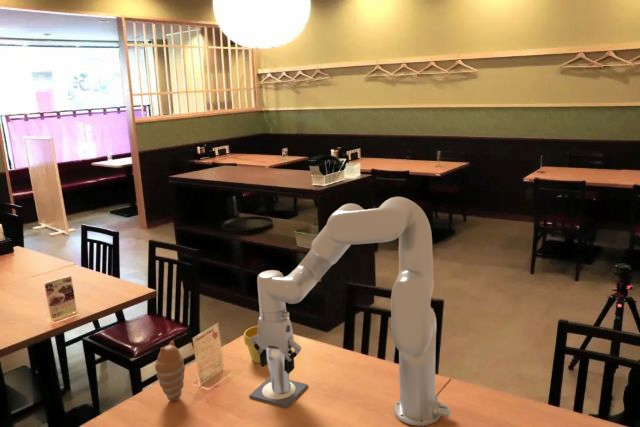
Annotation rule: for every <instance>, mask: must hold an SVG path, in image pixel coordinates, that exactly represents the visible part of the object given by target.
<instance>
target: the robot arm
mask: <svg viewBox="0 0 640 427" xmlns="http://www.w3.org/2000/svg"><path fill="white" fill-rule="evenodd" d="M432 236H433V235H432V229H431V224H430V222H429V219H428V217H427V215H426V212H425V211H424V210H423V209H422V207H420V206H419V205H418V204H417V203H416V202H414V201H412V200H410V199H409V198H406V197H403V196H394V197H390V198H388V199H387V200H385V201H384V202H383V203H381V205H380V206H378V207H376V208H368V209H364V208H363V207H362V206H360V204H356V203H350V202H349V203H346V204H343V205H341V206H340V207H339V208H338V209H336V210H335V211H333V213H332V214H330V216H329V218H328V219H327V222H326V225H324V227H323V228H322V229H321V230H320V232H318V235H316V237H315V238H314V239H313V240H312V242H311V244H310V245H311V248H310V250H309V251H308V253H307V254H306V255H305V257H303V259H302V260H301V261H300V263H299V264H298V265H297V266H296V267H295V269H293V270H292V271H291V272H290V273H289V274H288V275H286V276H284V275H283V272H282V271H281V272H280V270H274V269H270V270H265V271H262V272H260V273H259V274H258V275H257V278H256V279H257V280H256V282H257V294H258V296H257V297H258V306H259V317H258V320H257V322H258V323H257V326H258V334H257V335H255V336H253V337H252V338H251V341H252V343H253V344H254V347H255V349H256V350H257V351H258V352H257V353H258V354H259V355H260V363H259V364H260V367H261V368H264V367H265V366H267V359H266V346H268V347H269V348H272V349H278V348H280V349H281V352H282V353H284V355H285V357H286V359H287V361H286V372H287V373H288V374H289V375H290V373H291V372H292V371H293V370H294V369H295V358H296V357H297V356H298V355H299V354H300V352H301V350H302V347H301V346H302V345H301V346H300V344H298V343H297V342H296V341H295V339H294V332H293V327H292V322H291V320H290V312H289V311H287V307H286V303H287V304H289V305H290V304H291V305H293V304H294V305H295V304H298V303H300V302H301V301H303V299H305V297H306V296H308V294H309V292H310V291H311V290H312V289H313V288H314V287H315V286H316V285H317V284H318V282H319V281H320V280H321V279H322V278H323V277H324V275H325V274H326V273H327V272H328V271H329V269H331V267H332V266H333V265H335V264H336V263H337V262H338V261H339V259H341V257H342V256H343V255H344V254H345V252H346V251H347V250H348V249H349V248H350V247H351V245H365V244H366V245H367V244H375V243H376V244H377V243H386V242H387V243H389V242H392V241H395V240H397V239H398V262H399V263H398V267H399V268H398V275H397V277H396V280H395V281H394V283H393V284H394V285H393V286H392V290H391V296H390V311H391V312H390V315H391V317H390V318H391V320H390V321H391V336H392V341H393V344H394V345H395V348H396V349H397V350H398V362H399V363H398V371H399V374H398V375H399V376H398V377H399V399H398V400H397V401H396V402H395V403H394V406H393V410H394V411H393V412H394V415H395V416H396V418H397V419H398V420H400V421H401V422H403V423H405V424H406V425H407V424H408V425H411V426H417V427H424V425H425V426H429V424H430V425H432V424H434V423H436V422H438V421H439V420H440V418H441V416H443V417H446V418H450V417H451V414H452V410H451V409H449V407H450V406H449V404H446V403H441V402H440V401H439V396H438V395H436V345H437V344H436V343H437V340H436V339H437V317H436V313H435V311H434V309H433V308H432V306H431V303H432V296H433V293H434V290H435V282H434V280H435V278H434V256H433V237H432ZM292 348H293V349H294V350H293V349H292ZM288 351H289V354H290V355H289V354H288Z"/></svg>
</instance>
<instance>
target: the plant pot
mask: <svg viewBox="0 0 640 427" xmlns="http://www.w3.org/2000/svg"><path fill="white" fill-rule="evenodd" d="M257 334H258V325H255V326H251V327H249V328H247V329H246V330H245V331H244V333H243V338H244V344H245V345H246V346H247V349H248V351H249V354H250V357H251V360H252V361H253V363H257V364H261V363H260V355H259V354H258V353H257V352H258V351H257V350H256V349H255V347H254V344H253V343H252V341H251V338H252V337H253V336H255V335H257Z"/></svg>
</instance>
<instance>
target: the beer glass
mask: <svg viewBox="0 0 640 427" xmlns="http://www.w3.org/2000/svg"><path fill="white" fill-rule="evenodd" d="M288 354H289V351H288ZM289 355H290V354H289ZM266 359H267V364H266V366H267V369H268V372H269V377H270V376H271V382H272V383H271V392H272V394H274V395H277V396H282V395H286V394H288V393H289V392H290V391H291V385H290V381H289V380H290V373H289V374H288V373H287V372H286V361H287V359H286V357H285V355H284V353H282V352H281V349H280V348H278V349H272V348H269V347H268V346H266Z"/></svg>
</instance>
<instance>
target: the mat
mask: <svg viewBox="0 0 640 427" xmlns="http://www.w3.org/2000/svg"><path fill="white" fill-rule="evenodd" d="M289 381H290V385H291V391H290V392H289V393H288V394H286V395H282V396H277V395H274V394H272V392H271V383H272V382H271V376H270V375H269V377H268V378H267V379H266V380H265V381H263V382H262V383H261V384H260V385H259V386H258V387H257V388H256V389H254V390H253V392H251V393H250V394H249V396H248V397H249V399H253V400H256V401H257V400H258V401H260V402H262V403H267V404H269V405H270V404H271V405H275V406H278V407H282V408H285V409H288V408H289V407H290V406H291V404H293V403H294V402H295V401H296V400H297V399H298V397H300V395H301V394H302V393H303V392H304V391H306V390H307V388H308V387H309V384H307V383H303V382H300V381H295V380H293V379H289Z"/></svg>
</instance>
